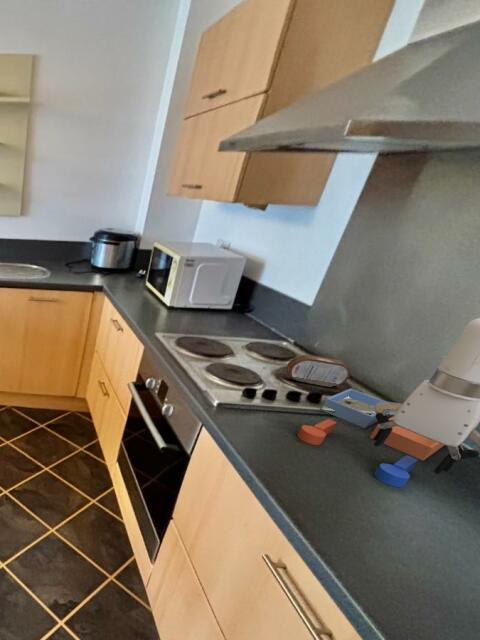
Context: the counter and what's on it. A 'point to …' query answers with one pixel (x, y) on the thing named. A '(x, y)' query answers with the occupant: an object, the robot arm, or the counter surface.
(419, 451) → the terracotta bin
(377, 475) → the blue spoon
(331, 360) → the tin
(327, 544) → the counter surface
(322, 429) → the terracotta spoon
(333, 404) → the blue bin
